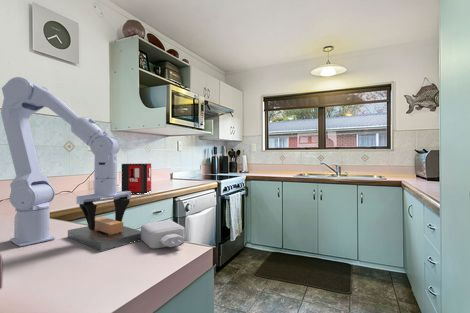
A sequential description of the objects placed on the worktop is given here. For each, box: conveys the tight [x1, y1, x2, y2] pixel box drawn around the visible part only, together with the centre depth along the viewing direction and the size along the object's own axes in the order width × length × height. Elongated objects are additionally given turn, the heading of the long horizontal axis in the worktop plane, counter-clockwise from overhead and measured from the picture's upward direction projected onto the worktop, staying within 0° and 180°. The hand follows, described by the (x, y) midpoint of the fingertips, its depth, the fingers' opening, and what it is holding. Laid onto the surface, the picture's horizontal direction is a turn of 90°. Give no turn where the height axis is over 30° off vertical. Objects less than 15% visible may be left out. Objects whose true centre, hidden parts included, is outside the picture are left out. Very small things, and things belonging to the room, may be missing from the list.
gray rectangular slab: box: [67, 225, 143, 252], centre depth 73 cm, size 20×12×2 cm, turn 53°
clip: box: [94, 216, 124, 236], centre depth 73 cm, size 12×4×5 cm, turn 53°
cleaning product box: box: [121, 163, 152, 193], centre depth 173 cm, size 16×9×20 cm, turn 90°
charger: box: [140, 219, 186, 250], centre depth 68 cm, size 5×9×15 cm
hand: (105, 226), depth 73 cm, fingers open, 7 cm apart
